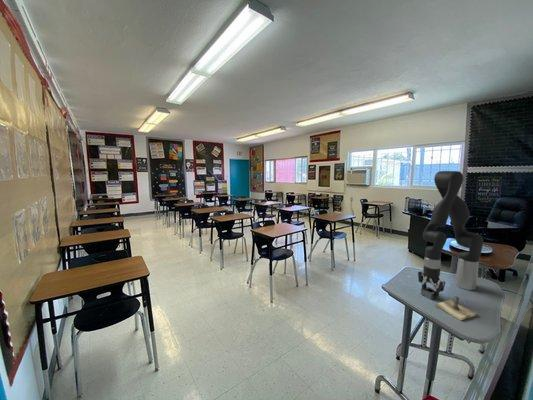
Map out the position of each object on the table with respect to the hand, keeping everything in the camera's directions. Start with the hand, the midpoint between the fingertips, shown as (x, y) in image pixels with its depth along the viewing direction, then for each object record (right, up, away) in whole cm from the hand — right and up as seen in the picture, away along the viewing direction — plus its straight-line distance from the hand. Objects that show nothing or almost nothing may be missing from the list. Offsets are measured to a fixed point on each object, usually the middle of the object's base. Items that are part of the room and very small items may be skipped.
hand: (429, 293), depth 128 cm
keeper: (+3, -3, -13) cm, 14 cm away
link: (0, -1, 0) cm, 1 cm away
